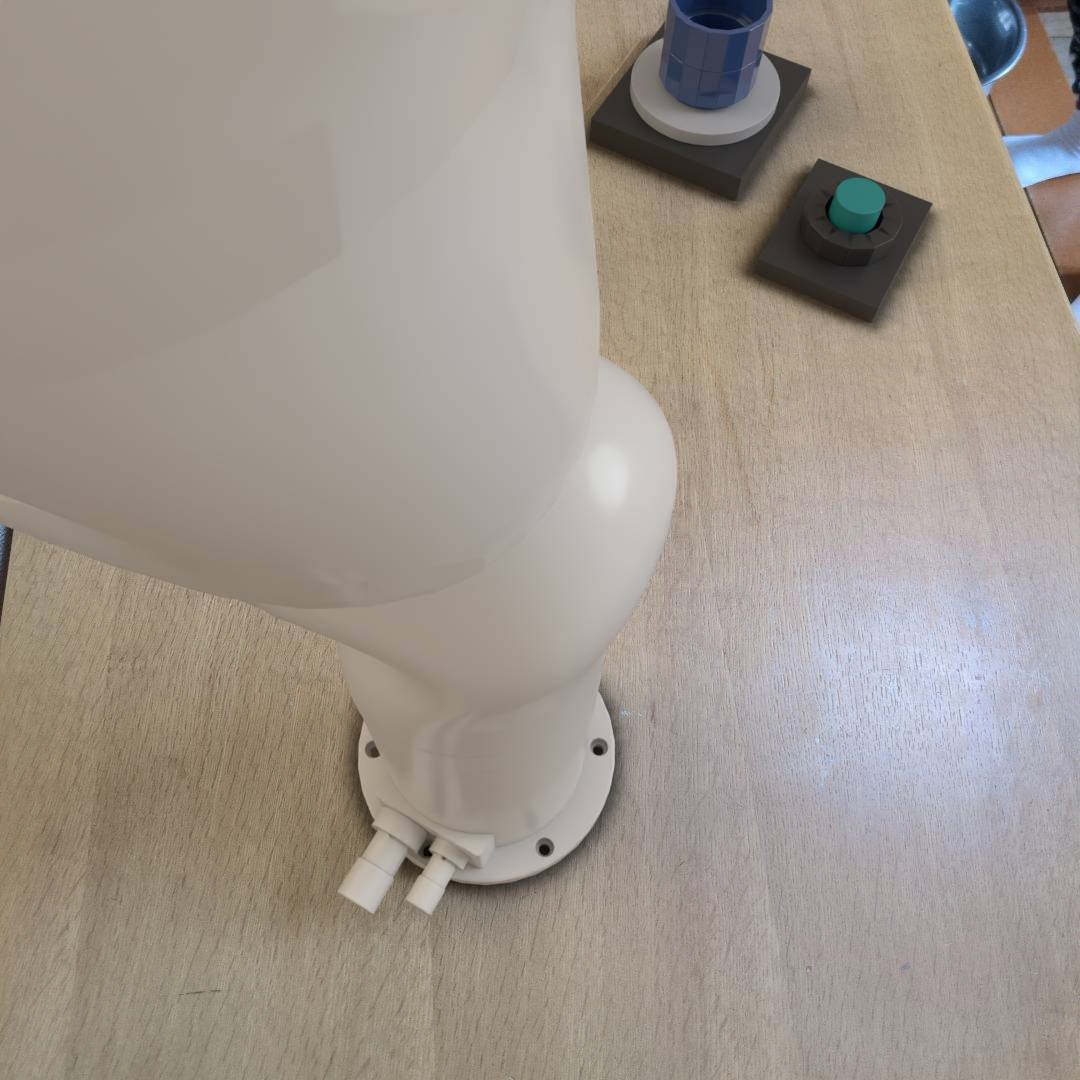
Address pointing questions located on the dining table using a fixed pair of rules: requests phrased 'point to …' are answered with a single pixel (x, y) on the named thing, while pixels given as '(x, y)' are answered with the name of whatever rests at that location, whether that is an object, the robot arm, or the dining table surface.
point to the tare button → (856, 205)
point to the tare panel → (841, 245)
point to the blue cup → (713, 50)
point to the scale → (698, 123)
